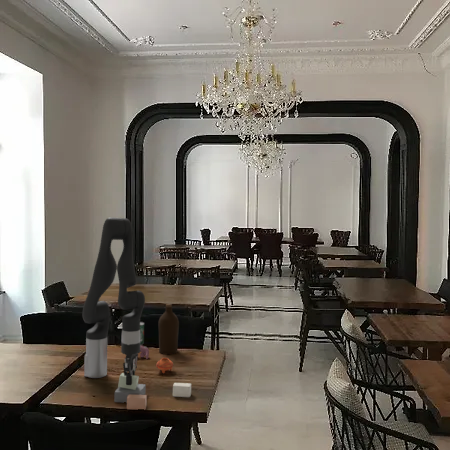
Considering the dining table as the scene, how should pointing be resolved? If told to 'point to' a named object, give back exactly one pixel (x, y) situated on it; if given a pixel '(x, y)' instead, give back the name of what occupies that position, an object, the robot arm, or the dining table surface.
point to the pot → (164, 364)
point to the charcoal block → (128, 392)
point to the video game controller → (144, 351)
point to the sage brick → (123, 382)
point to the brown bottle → (168, 331)
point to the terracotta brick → (136, 401)
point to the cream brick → (182, 389)
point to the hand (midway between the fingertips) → (130, 382)
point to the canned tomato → (141, 333)
